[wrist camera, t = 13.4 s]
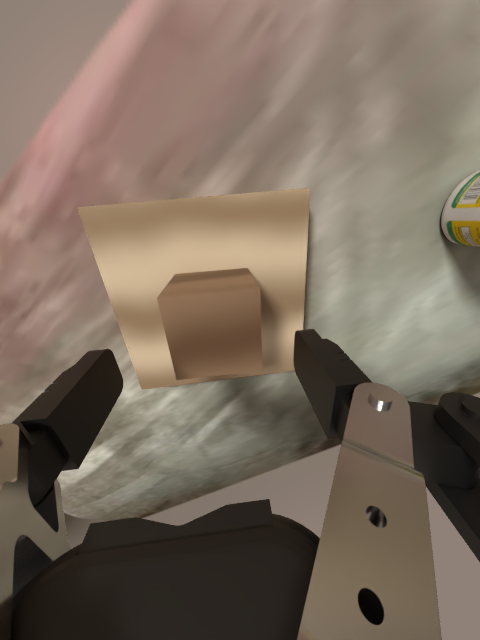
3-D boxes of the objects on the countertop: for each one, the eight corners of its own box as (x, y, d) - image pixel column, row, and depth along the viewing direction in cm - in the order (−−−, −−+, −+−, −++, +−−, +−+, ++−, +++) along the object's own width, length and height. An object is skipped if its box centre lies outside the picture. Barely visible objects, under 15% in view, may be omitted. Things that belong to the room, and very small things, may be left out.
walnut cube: (175, 274, 15) (156, 298, 10) (247, 267, 15) (260, 288, 11) (187, 337, 17) (176, 380, 13) (250, 331, 17) (262, 370, 13)
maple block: (101, 209, 16) (77, 207, 13) (294, 192, 16) (310, 188, 14) (151, 367, 22) (141, 389, 19) (290, 351, 22) (301, 369, 20)
